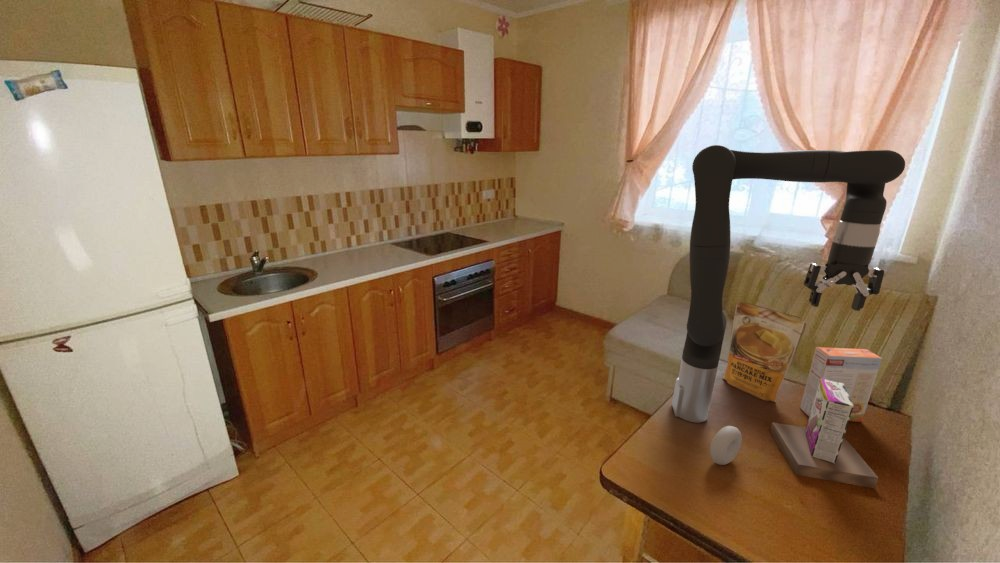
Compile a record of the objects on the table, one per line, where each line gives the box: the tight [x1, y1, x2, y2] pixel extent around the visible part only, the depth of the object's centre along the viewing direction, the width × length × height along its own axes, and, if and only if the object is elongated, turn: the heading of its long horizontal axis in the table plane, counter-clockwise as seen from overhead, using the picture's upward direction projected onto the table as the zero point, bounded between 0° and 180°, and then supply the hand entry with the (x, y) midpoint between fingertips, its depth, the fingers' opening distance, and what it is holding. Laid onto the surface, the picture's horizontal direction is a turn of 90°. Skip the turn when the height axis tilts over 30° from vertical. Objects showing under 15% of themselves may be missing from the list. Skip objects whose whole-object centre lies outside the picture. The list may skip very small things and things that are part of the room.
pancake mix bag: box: [722, 301, 807, 403], centre depth 125 cm, size 7×19×28 cm, turn 34°
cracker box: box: [799, 346, 883, 423], centre depth 113 cm, size 14×6×21 cm, turn 84°
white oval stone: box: [709, 425, 743, 465], centre depth 97 cm, size 10×4×10 cm, turn 120°
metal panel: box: [769, 421, 880, 489], centre depth 100 cm, size 16×16×3 cm
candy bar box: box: [806, 378, 854, 464], centre depth 97 cm, size 11×5×16 cm, turn 150°
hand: (834, 307), depth 95 cm, fingers open, 8 cm apart
